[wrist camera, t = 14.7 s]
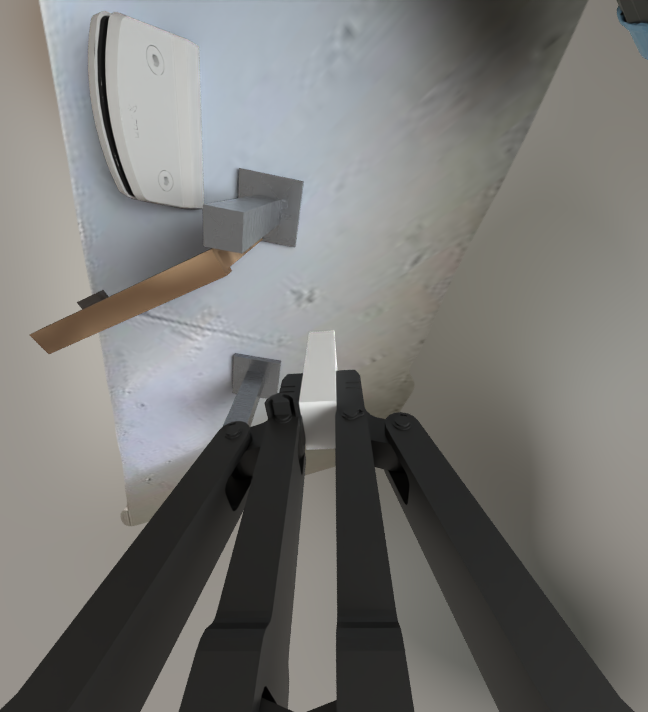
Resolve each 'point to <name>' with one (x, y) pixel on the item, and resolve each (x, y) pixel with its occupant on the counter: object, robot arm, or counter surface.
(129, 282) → the counter surface
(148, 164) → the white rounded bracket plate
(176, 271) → the gate leaf
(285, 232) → the gate frame
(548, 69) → the counter surface
